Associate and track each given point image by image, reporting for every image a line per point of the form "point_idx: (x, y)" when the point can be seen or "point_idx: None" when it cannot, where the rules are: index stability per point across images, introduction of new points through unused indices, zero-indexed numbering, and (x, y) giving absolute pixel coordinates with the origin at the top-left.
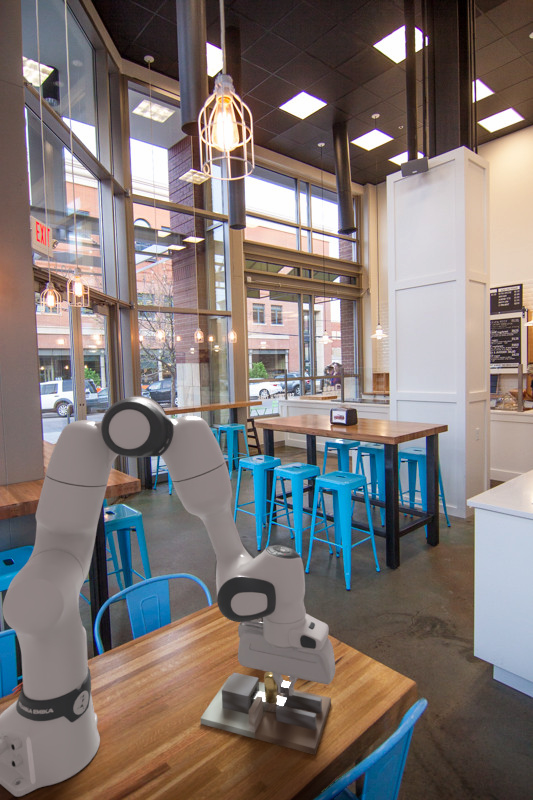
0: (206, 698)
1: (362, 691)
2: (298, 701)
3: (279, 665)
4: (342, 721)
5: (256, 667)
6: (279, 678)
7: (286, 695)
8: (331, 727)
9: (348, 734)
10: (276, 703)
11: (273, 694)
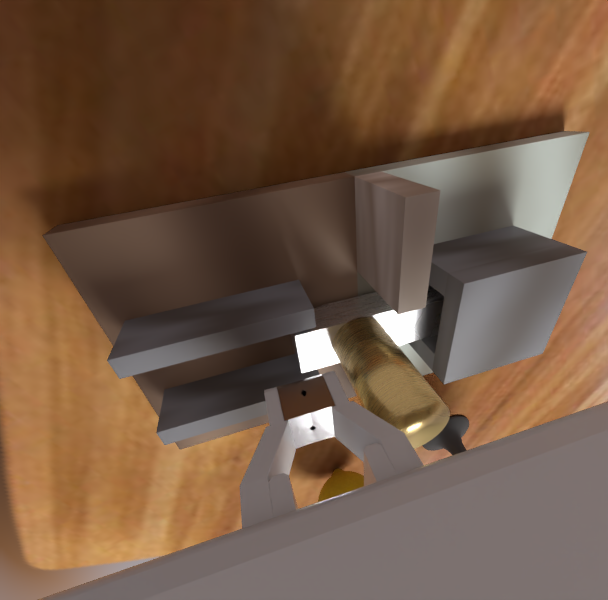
0: None
1: (127, 502)
2: (255, 385)
3: (406, 587)
4: (95, 404)
5: (556, 437)
6: (358, 440)
7: None
8: (109, 367)
9: (27, 377)
10: (326, 331)
11: (354, 353)
